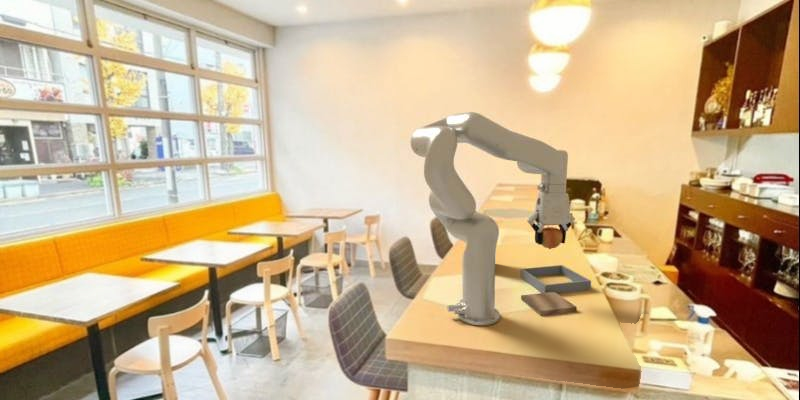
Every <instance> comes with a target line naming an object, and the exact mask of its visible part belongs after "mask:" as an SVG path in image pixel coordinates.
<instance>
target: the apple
mask: <svg viewBox="0 0 800 400" xmlns="http://www.w3.org/2000/svg"><path fill="white" fill-rule="evenodd" d="M559 229H560V228H557V227H554V226H553V227H552V226H551V227H550V225H547V227H544V228H543V229H542V231H541V232H542V233H543V243H542V245H541V246H542V247H543V248H545V249H548V250H552V249H555V248H557V247H559V246H560V245H561V244H562V243H561V241H562V238H563V234H562V231H561V230H559Z"/></svg>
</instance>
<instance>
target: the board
mask: <svg viewBox="0 0 800 400" xmlns="http://www.w3.org/2000/svg"><path fill="white" fill-rule="evenodd" d="M520 301H522V302H523V303H525V304H526V306H528V307H529V308H530V309H532V310H533V311H534V312H535V313H537V315H539V316H540V317H542V316H550V315H558V314H559V315H560V314H566V313H568V314H569V313H573V312H575V313H576V312H577V306H576V305H575V304H573V303H571V302H570V301H569V300H567V299H565V298H564V297H563V296H561V295H560V294H557V293H555V292H548V293H541V292H539V293H531V294H522V295H520Z"/></svg>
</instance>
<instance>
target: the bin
mask: <svg viewBox="0 0 800 400" xmlns="http://www.w3.org/2000/svg"><path fill="white" fill-rule="evenodd" d="M555 275H557V276H558V275H561V276H563V277H565V278H566V279H568V280H571V281H570V282H559V283H556V282H555V283H547V284H546V283H544V282H542V281H541V280H540V279H539V278H538V277H546V276H548V277H549V276H555ZM520 279H522V280H523V281H525V282H526V283H528V284H529V285H530V286H531V287H533V288H534V289H535V290H537V291H538V292H539V293H548V292H555V293H557V294H558V295H560V294H567V293H575V292H577V293H578V292H587V291H588V292H589V291H591V289H592V280H590V279H589V278H587V277H585V276H583V275H582V274H580V273H578V272H576V271H574V270H572V269H570V268H568V267H566V266H565V265H563V264H558V265H548V266H547V265H546V266H537V267H524V268H520Z"/></svg>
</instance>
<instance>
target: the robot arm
mask: <svg viewBox="0 0 800 400" xmlns="http://www.w3.org/2000/svg"><path fill="white" fill-rule="evenodd" d="M459 143H461V144H469V145H471V146H473V147H474V148H477V149H479V150H481V151H482V152H485V153H487V154H489V155H491V156H492V157H495V158H498V159H500V160H501V159H502V160H505V161H512V162H516V165H517V167H518V169H519V170H520V171H522V172H523V173H526V174H531V175H532V174H533V175H540V176H541V177H540V184H539V185H537V188H536V189H537V190H538V191H539V192H538V195H537V198H536V202H535V207H534V208H535V209H534V213H533V214H532V215H531V216H529V217H528V218H527V219H526V221H527V223H528V224H529V225H530V227H531V228H532V229H533V231H534V242H535V244H537V245H541V246H542V243H543V233H542V232H541V231H542V229H543V228H545V226H558V229H559V230H561V231H562V234H563V238H562V241H561V243H560V244H565V243H566V238H567V237H566V236H567V232H568V231H569V229H570V227H571V226H572V225H573V223H574V222H575V220H576V218H575V217H574V216H573V215H572V214H571V206H570V197H569V193H567V179H568V178H567V175H568V160H569V153H568V152H567V151H566V150H563V149H556V148H555V147H554V146H553V147H552V146H551V145H550V144H548V143H546V142H544V141H541V140H539V139H537V138H533V137H530V136H528V135H527V136H526V135H524V134H521V133H518V132H516V131H513V130H509V129H508V128H506V127H505V126H502V125H501V124H499V123H497V122H495V121H493V120H491V119H490V118H488V117H486V116H484V115H483V114H480V113H478V112H473V111H469V112H467V111H466V112H461V113H455V114H452V115H449V116H447V117H444V118H442V119H439V120H437V121H434V122H431V123H429V124H426V125H423V126H422V127H419V128H418V129H416V130H414V132H413V134H412V136H411V137H410V147H411V150H412V152H413V153H415V155H417V156H418V157H422V158H424V164H423V177H424V180H425V182H426V185H427V186H428V188H429V189H430V193H429V195H428V196H429V197H428V203H429V208H430V209H431V211H432V213H433V214H434V215H435V217H436V218H437V219H438V221H439V222H440V223H441V225H442V226H443V227H444V228H445V230H446V231H447V232H448V233H449V235H451V236H452V237H453V238H455V239H457V240H459V241H462V242H464V243H466V246H465V249H464V251H463V254H462V262H461V263H462V264H461V267H462V299H459V303H458V302H457V303H456V304H449V305H446V310H447V312H448V313H449V312H450V313H451V312H453V314H454V315H457V317H458V319H459V320H460V321H462V322H464V323H466V324H469V325H472V326H490V325H494V324H496V323H498V322H499V321H500V319H501V313H500V310H498V309H497V308H495V307H496V299H495V298H496V295H495V294H496V291H495V290H496V250H497V245H498V240H499V235H500V229H499V226H498V225H499V224H498V223H497V222H496V221H495V220H494V219H493V217H490V216H489V215H487V214H484V213H481V212H476V209H477V202H476V199H475V197H474V195H473V194H472V192H471V191H470V190H469V188H468V187H467V185H466V184H465V182H463V180H462V178H461V177H460V176H459V174H458V172H457V171H456V169H455V156H456V152H457V148H458V144H459Z"/></svg>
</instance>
